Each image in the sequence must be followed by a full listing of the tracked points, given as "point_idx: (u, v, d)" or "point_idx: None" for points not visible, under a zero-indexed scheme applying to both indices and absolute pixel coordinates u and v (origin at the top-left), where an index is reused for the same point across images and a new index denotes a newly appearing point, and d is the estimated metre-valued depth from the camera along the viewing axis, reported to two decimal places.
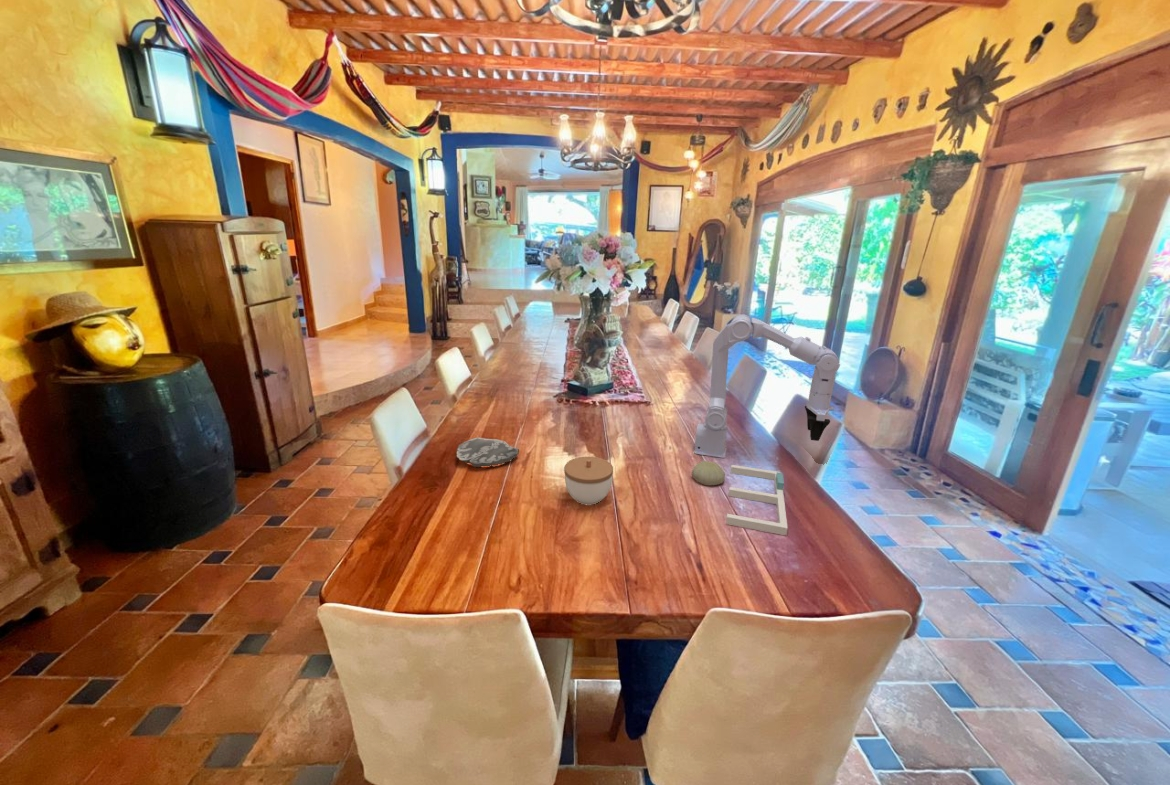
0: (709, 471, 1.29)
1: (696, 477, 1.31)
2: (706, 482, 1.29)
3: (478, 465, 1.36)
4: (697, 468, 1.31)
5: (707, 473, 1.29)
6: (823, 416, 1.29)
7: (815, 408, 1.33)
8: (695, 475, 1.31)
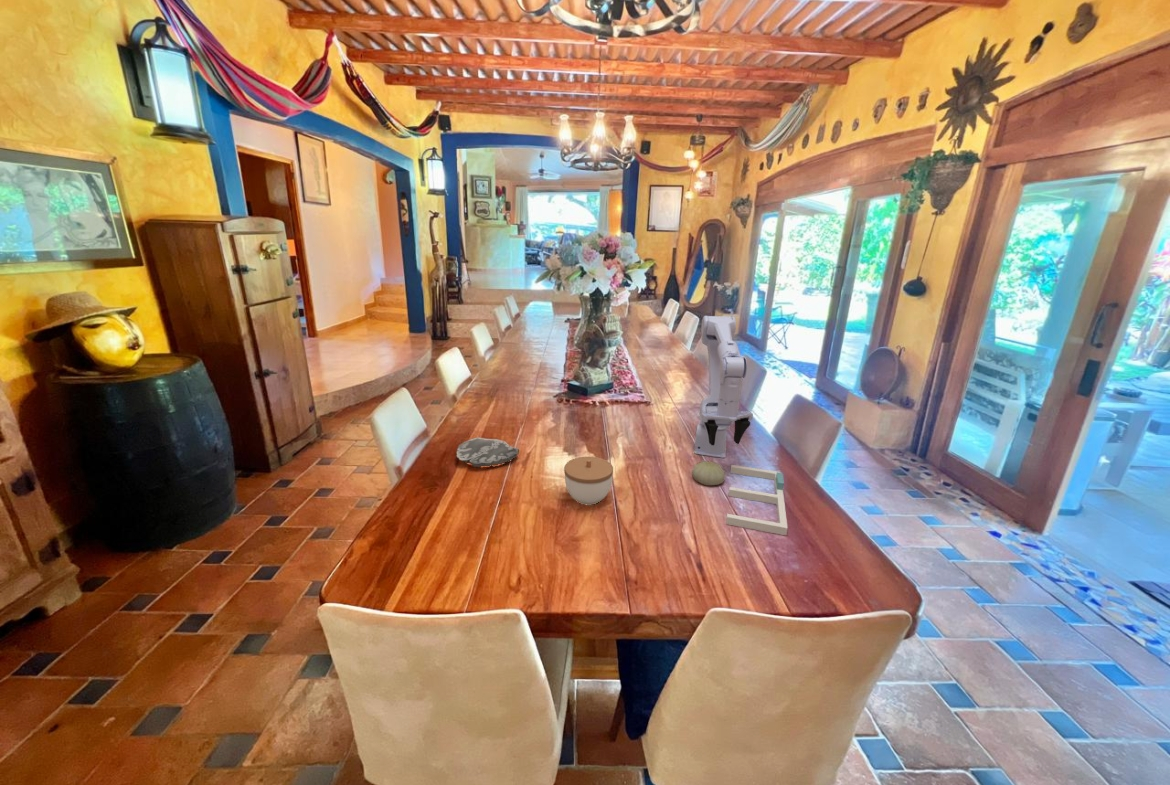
0: (709, 471, 1.29)
1: (696, 477, 1.31)
2: (706, 482, 1.29)
3: (478, 465, 1.36)
4: (697, 468, 1.31)
5: (707, 473, 1.29)
6: (703, 417, 1.31)
7: (716, 412, 1.33)
8: (695, 475, 1.31)
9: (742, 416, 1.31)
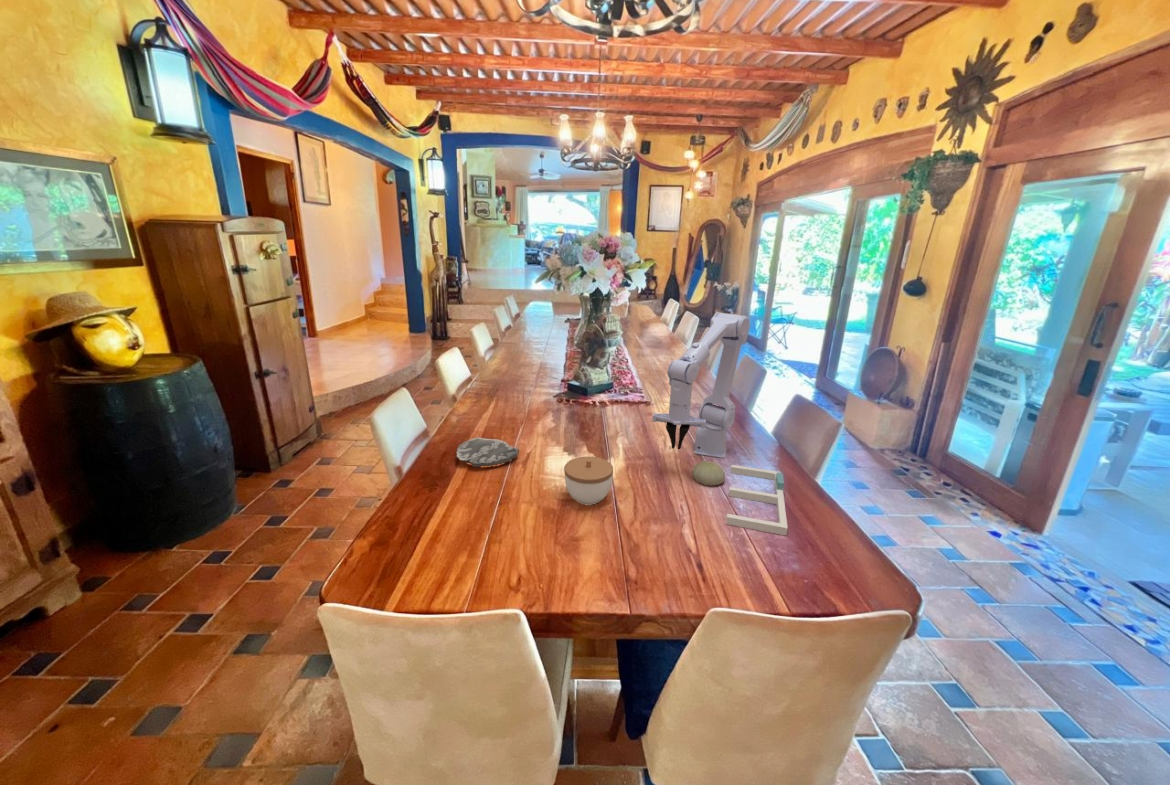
0: (709, 471, 1.29)
1: (696, 477, 1.31)
2: (706, 482, 1.29)
3: (478, 465, 1.36)
4: (697, 468, 1.31)
5: (707, 473, 1.29)
6: None
7: None
8: (695, 475, 1.31)
9: (691, 422, 1.28)
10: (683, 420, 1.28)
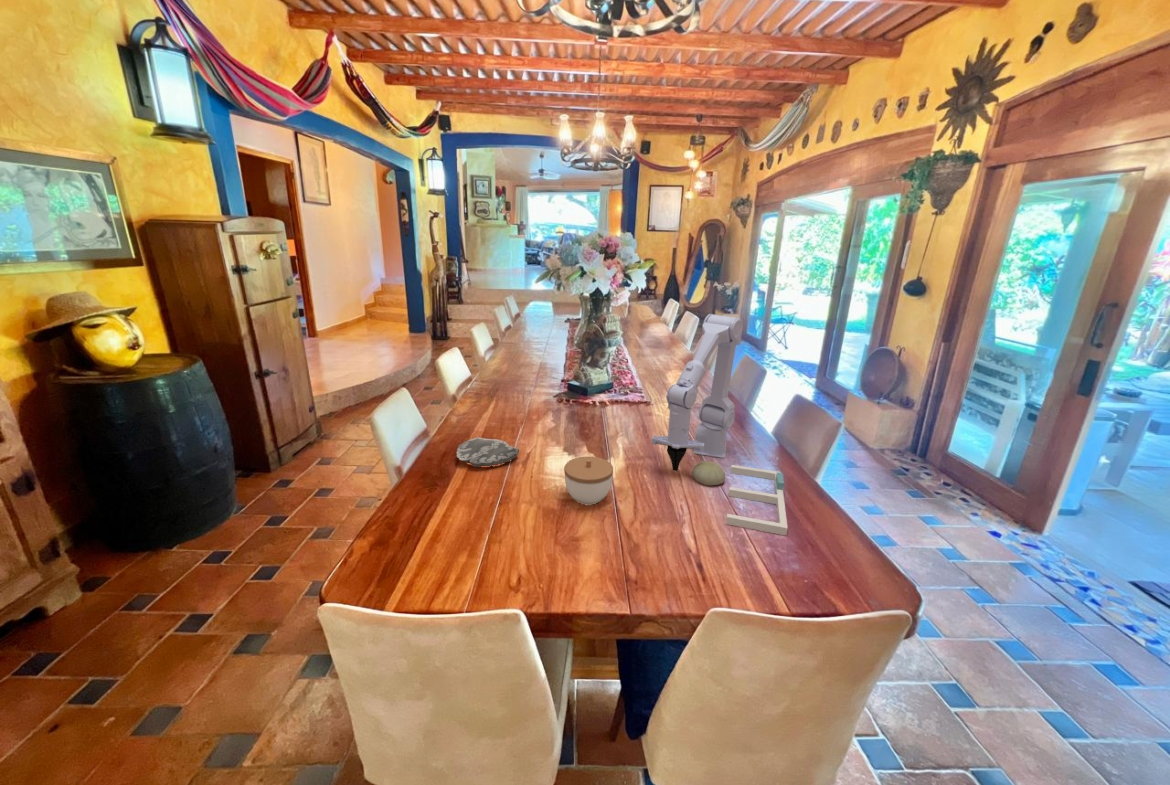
0: (709, 471, 1.29)
1: (696, 477, 1.31)
2: (706, 482, 1.28)
3: (478, 465, 1.36)
4: (697, 468, 1.31)
5: (707, 473, 1.29)
6: None
7: None
8: (695, 475, 1.31)
9: (689, 446, 1.30)
10: (682, 443, 1.30)
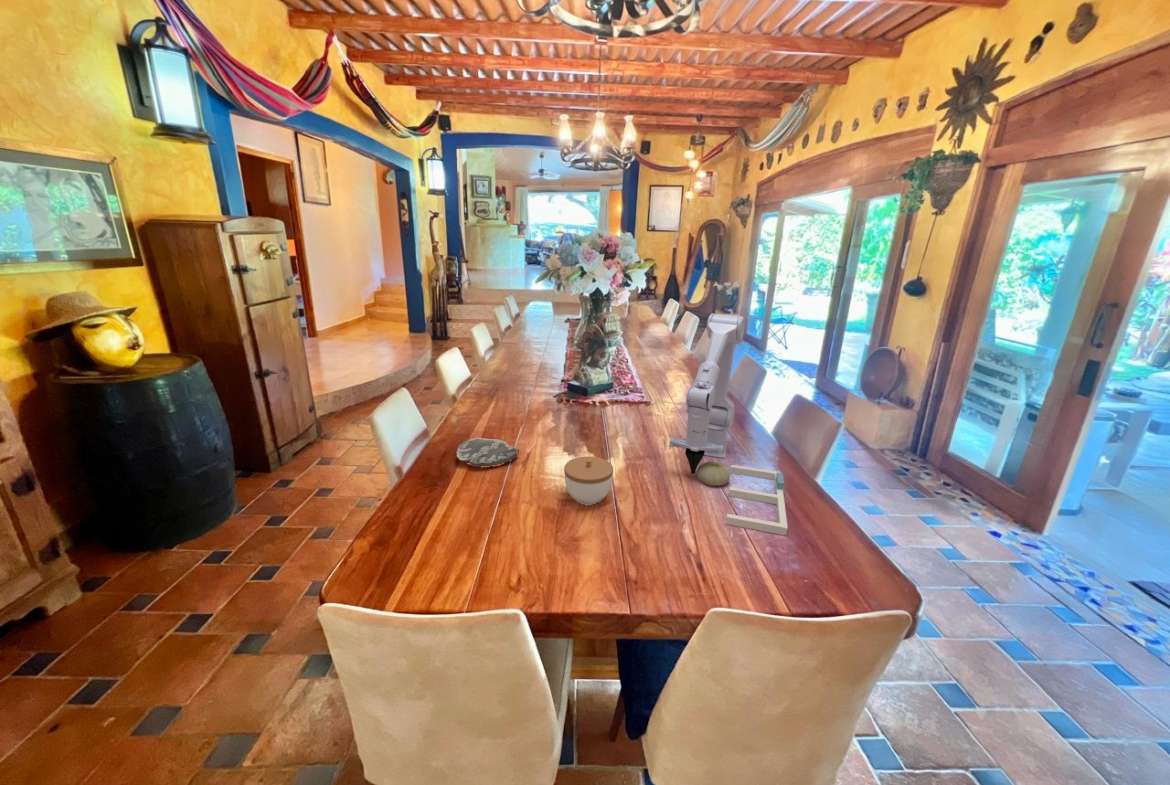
0: (714, 471, 1.28)
1: (701, 477, 1.30)
2: (711, 482, 1.28)
3: (478, 465, 1.36)
4: (702, 468, 1.31)
5: (711, 473, 1.28)
6: None
7: None
8: (700, 475, 1.30)
9: (708, 448, 1.28)
10: (700, 446, 1.28)
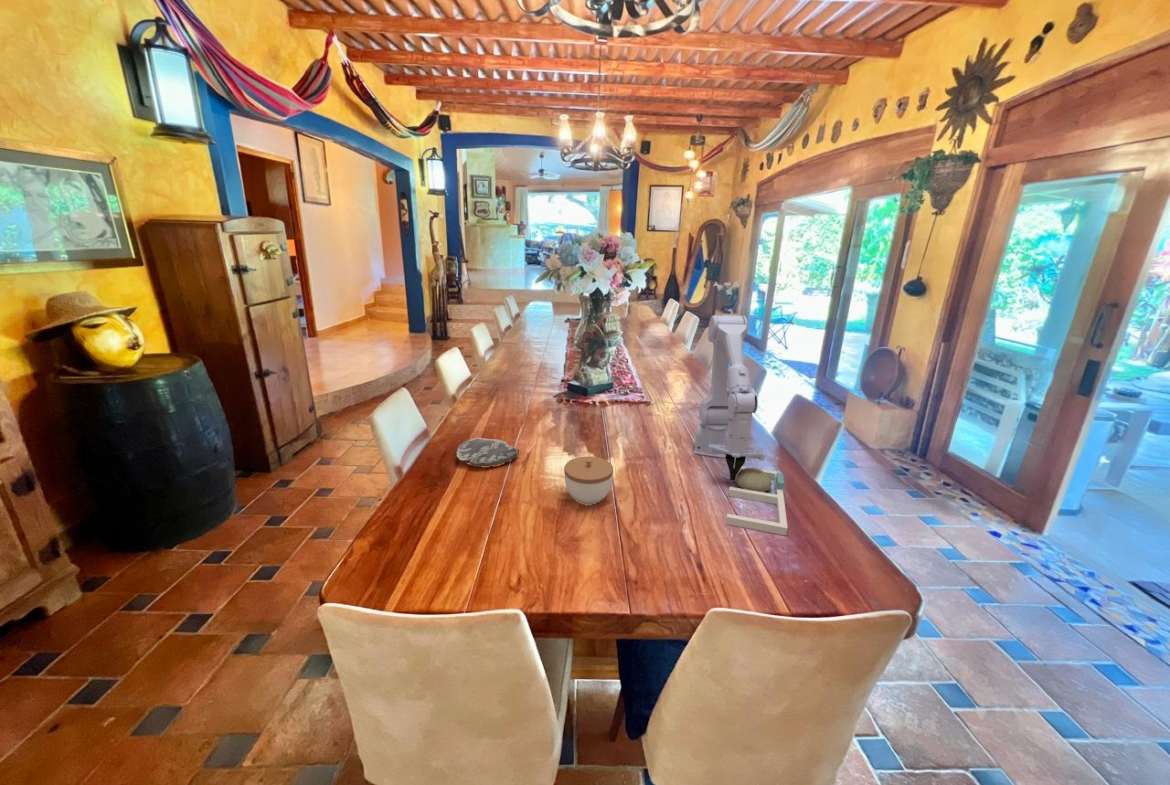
0: (756, 478, 1.25)
1: (742, 484, 1.27)
2: (753, 489, 1.25)
3: (478, 465, 1.36)
4: (743, 475, 1.28)
5: (754, 480, 1.25)
6: (708, 447, 1.30)
7: (726, 445, 1.29)
8: (741, 482, 1.27)
9: (750, 455, 1.25)
10: (742, 452, 1.25)
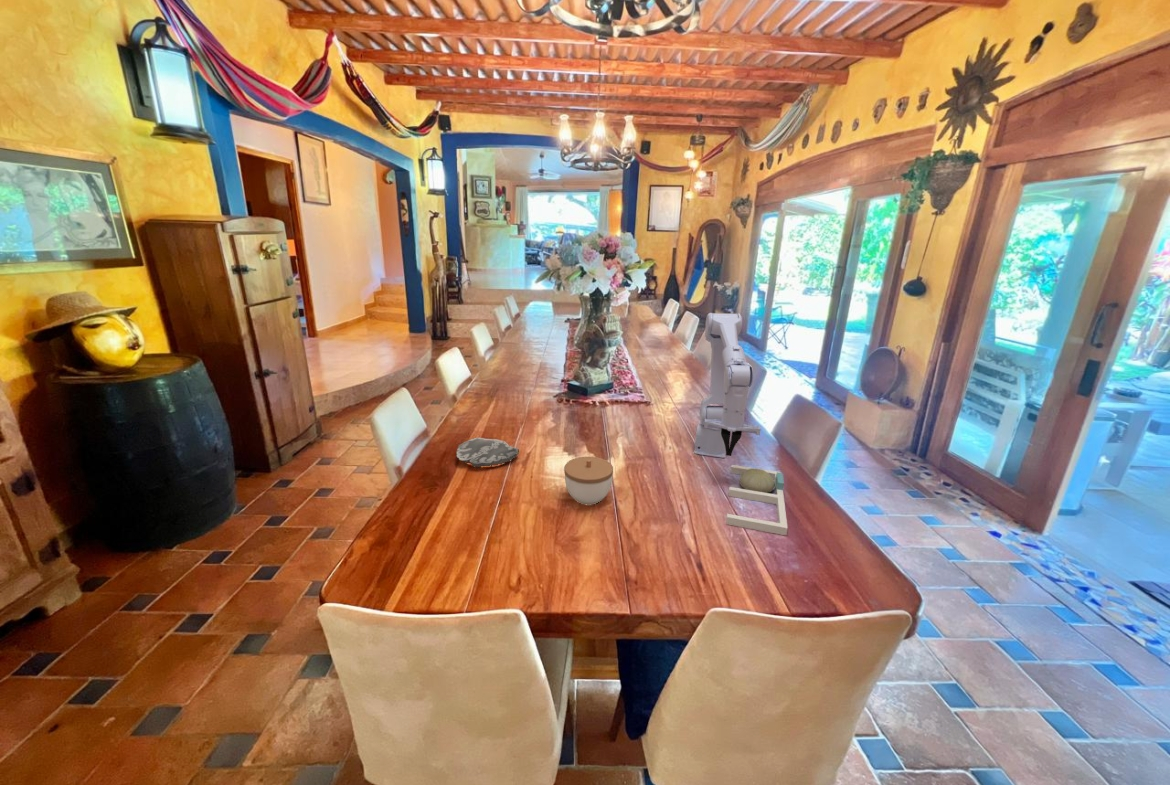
0: (759, 479, 1.25)
1: (745, 485, 1.27)
2: (756, 490, 1.25)
3: (478, 465, 1.36)
4: (746, 476, 1.27)
5: (757, 481, 1.25)
6: (704, 422, 1.28)
7: (722, 420, 1.28)
8: (744, 483, 1.27)
9: (746, 429, 1.24)
10: (738, 426, 1.24)
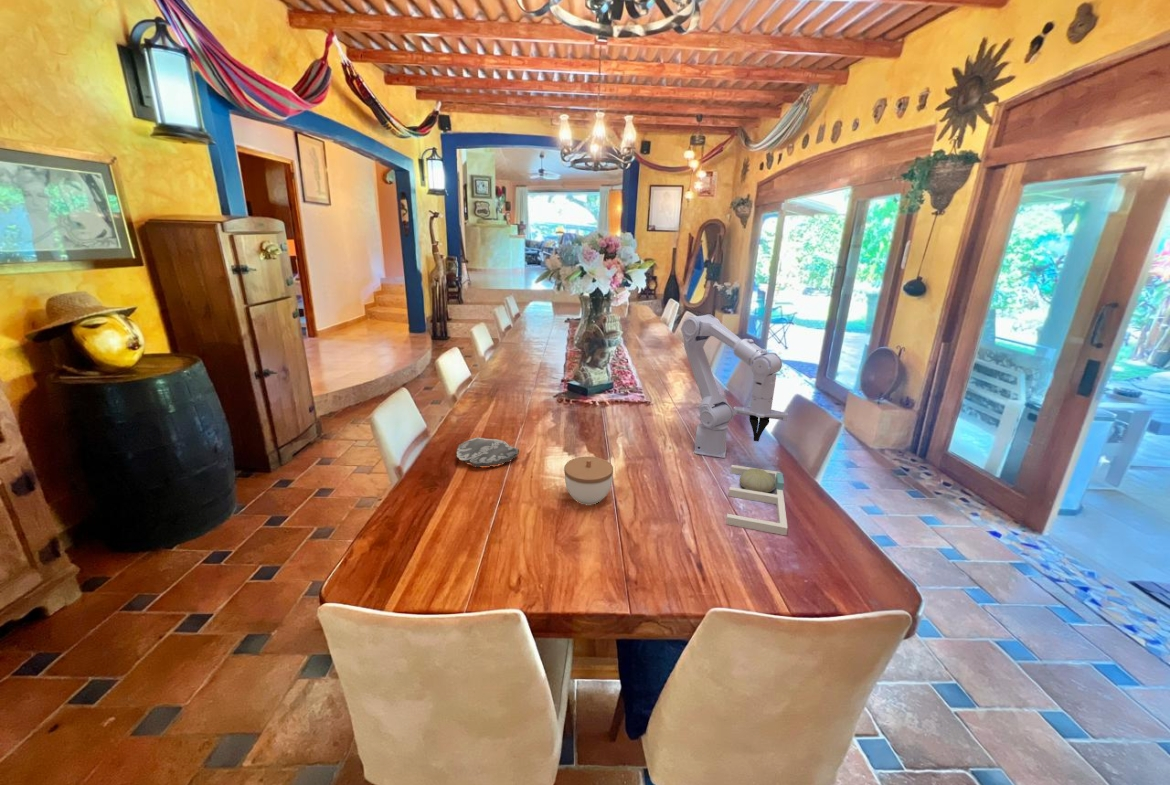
0: (760, 479, 1.25)
1: (746, 485, 1.27)
2: (757, 490, 1.25)
3: (478, 465, 1.36)
4: (746, 476, 1.27)
5: (757, 481, 1.25)
6: None
7: (750, 408, 1.35)
8: (744, 483, 1.27)
9: (773, 415, 1.31)
10: (766, 413, 1.31)
